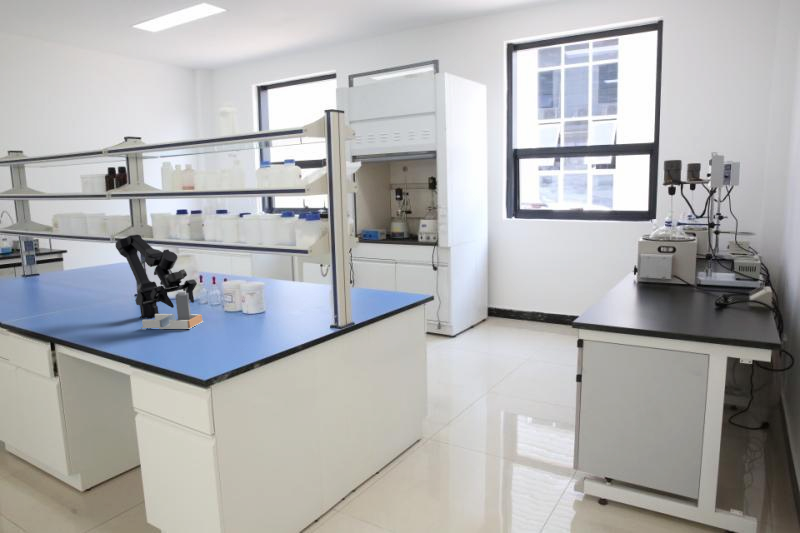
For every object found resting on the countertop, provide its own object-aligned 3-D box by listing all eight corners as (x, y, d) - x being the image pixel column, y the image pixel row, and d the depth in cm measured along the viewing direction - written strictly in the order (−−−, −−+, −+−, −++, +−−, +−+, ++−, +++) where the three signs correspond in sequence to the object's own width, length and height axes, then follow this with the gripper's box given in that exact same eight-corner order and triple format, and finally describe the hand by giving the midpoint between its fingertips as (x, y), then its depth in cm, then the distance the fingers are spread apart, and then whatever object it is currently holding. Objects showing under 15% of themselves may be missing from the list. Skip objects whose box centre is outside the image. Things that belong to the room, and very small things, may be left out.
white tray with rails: (141, 329, 221) (139, 320, 221) (157, 321, 232) (156, 313, 231) (189, 330, 218) (188, 321, 217) (203, 322, 228) (202, 314, 227)
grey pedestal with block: (178, 326, 221) (175, 293, 218) (180, 323, 225) (176, 290, 223) (190, 325, 222) (186, 292, 219) (191, 322, 226) (188, 289, 224)
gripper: (150, 268, 215) (168, 298, 210) (192, 260, 229) (209, 288, 225) (142, 285, 221) (160, 314, 216) (184, 276, 235) (200, 304, 231)
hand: (183, 304), depth 222 cm, fingers open, 9 cm apart
